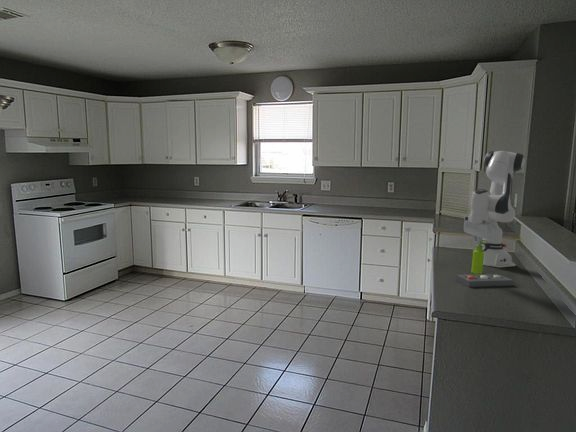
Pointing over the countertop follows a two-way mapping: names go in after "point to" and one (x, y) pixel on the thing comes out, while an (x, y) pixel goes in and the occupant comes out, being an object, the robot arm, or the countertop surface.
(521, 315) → the countertop surface
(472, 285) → the console
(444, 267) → the countertop surface
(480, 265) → the soap dispenser
